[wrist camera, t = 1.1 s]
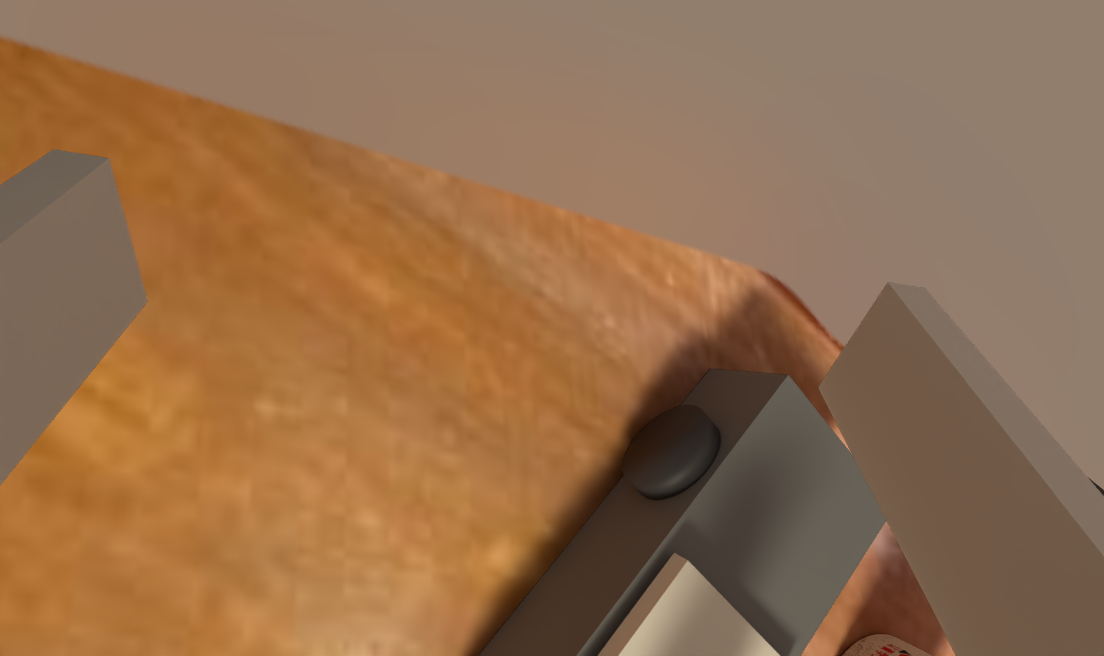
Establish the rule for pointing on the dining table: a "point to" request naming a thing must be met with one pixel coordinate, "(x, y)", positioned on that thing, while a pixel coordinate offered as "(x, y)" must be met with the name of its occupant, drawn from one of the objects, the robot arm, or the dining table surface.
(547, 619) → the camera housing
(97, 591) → the dining table surface
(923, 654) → the teacup with lid
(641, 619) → the sliding cover
